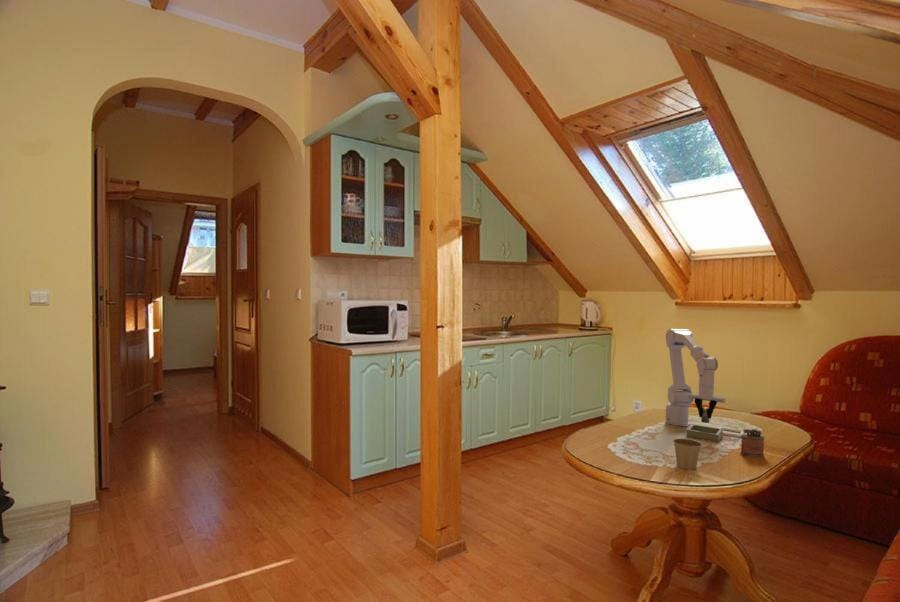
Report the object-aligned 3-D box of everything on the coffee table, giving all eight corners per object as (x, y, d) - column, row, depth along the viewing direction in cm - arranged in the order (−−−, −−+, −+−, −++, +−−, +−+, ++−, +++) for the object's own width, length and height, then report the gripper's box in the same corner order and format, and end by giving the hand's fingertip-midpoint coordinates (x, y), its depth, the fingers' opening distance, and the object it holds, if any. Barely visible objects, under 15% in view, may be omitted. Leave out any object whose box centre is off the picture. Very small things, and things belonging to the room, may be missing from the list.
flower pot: (694, 462, 182) (695, 438, 182) (706, 472, 173) (707, 446, 173) (667, 461, 183) (668, 437, 182) (678, 471, 173) (679, 445, 173)
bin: (686, 436, 216) (686, 429, 216) (692, 430, 225) (692, 424, 225) (718, 442, 209) (718, 434, 209) (722, 435, 218) (722, 428, 218)
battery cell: (700, 421, 217) (700, 407, 217) (702, 420, 219) (702, 406, 219) (708, 423, 215) (708, 409, 215) (709, 421, 217) (710, 407, 217)
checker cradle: (715, 433, 222) (715, 431, 222) (719, 428, 230) (719, 426, 230) (741, 437, 216) (741, 435, 216) (744, 432, 224) (744, 430, 224)
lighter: (761, 454, 193) (762, 428, 193) (765, 457, 190) (766, 431, 190) (738, 453, 194) (739, 427, 194) (742, 456, 191) (743, 429, 191)
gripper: (685, 384, 217) (684, 416, 218) (724, 389, 209) (723, 422, 209) (689, 382, 223) (688, 413, 223) (726, 386, 215) (725, 418, 215)
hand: (705, 417), depth 217 cm, fingers closed on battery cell, 3 cm apart
